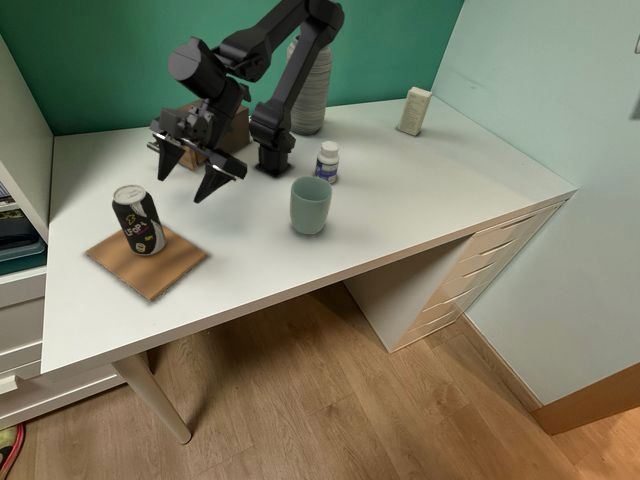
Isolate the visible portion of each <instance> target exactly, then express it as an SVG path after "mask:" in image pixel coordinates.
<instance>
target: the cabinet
mask: <svg viewBox="0 0 640 480" xmlns="http://www.w3.org/2000/svg"><path fill="white" fill-rule="evenodd" d="M201 102H202V99H201V98H199V99H197V100H194V101H192V102H189V103H187V104H184V105H182V106H179V107H177V108H175V109H176V110H182V111H186V112H188V111H189V109H190V107H191V106H193V104H194V105H196V106H199V105H200V103H201ZM249 122H250V108H249V107H248V106H246V105H243V104H242V103H241V104H240V106H239V108H238V110H237V112H236V114H235V116H234V118H233V120H232V122H231V124H230V126H231V127H233V128H234V129H233V131H232V133H229V132H226V134H225V136H224V138H223V140H222V142H221V144H220V146H219V147H221V148H223V151H225V152H227V153H228V154H230V155H232V154H234V153H235V152H237V151H238V150H240V149H242V148H243V147H246V146H247V145H249V144H250V143H251V135H250V130H249ZM204 161H205V162H207V163H208V164H211V163H210V159H209V158H208V159H206V160H204Z"/></svg>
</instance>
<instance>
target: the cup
mask: <svg viewBox="0 0 640 480" xmlns="http://www.w3.org/2000/svg"><path fill="white" fill-rule="evenodd" d="M289 197H290V198H289V219H290V223H291V225H292V227H293V228H294V229H295V231H297V232H298V233H300V234H304V235H315V234H318V233H319V232H320V231H321V230H322V229H323V228H324V226H325V224H326V222H327V220H328V217H329V213H330V208H331V204H332V198H333V187H332V184H331V183H328V182H327V181H326V180H324V179H322V178H319V177H315V175H303V176H300V177H298V178H296V179H295V180H293V182H292V184H291V187H290V196H289Z"/></svg>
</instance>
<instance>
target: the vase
mask: <svg viewBox="0 0 640 480" xmlns="http://www.w3.org/2000/svg"><path fill="white" fill-rule="evenodd" d="M300 35H301V33H297V34H295V35H294V36H293V38H292V42H290V43H289V45H288V47H287V49H286V57H285V66H286V65H287V63H288V61H289V59H290V57H291V55H292V53H293V51H294V48H295V46H296V44H297V42H298V40H299V38H300ZM329 45H330V44H328V45H327V46H326V47H324V48H323V49H321V50H320V52H319V54H318V56H317V58H316V60H315V62H314V64H313V66H312V69H311V71H310V73H309V75H308V77H307V79H306V81H305V83H304V85H303V87H302V89H301V91H300V93H299V95H298V98H297V100H296V102H295V104H294V106H293V108H292V110H291V123H292V127H291V130H290V131H292V132H294V133H296V134H299V135H312V134H315V133H316V132H317V131H318V130H319V129H321V128H322V126H323V125H324V122H325V118H326V117H325V116H326V110H327V103H328V94H329V87H330V81H331V73H332V67H333V60H334V59H333V51H332V50H331V48H330V47H329Z"/></svg>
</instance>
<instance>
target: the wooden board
mask: <svg viewBox="0 0 640 480" xmlns="http://www.w3.org/2000/svg"><path fill="white" fill-rule="evenodd" d="M161 226H162V229H163V232H164V235H165V238H166V243H165V245H164V247H163V248H162V249H161V250H160V251H158V252H156V253H154V254H151V255H139V254H136V253H134V252H133V251H132V249H131V248H130V245H129V243H128V241H127V239H126V237H125V234H124V232H123V230H122V229H119V230H118V231H117V232H115V233H113V234H112V235H110V236H108V237H107V238H105V239H104V240H102V241H100V242H99V243H97V244H95V245H93V246H92V247H90V248H89V249H87V250H85V254H86V255H87V256H89V257H90V258H91V259H92V260H94V261H95V262H97V264H99V265H100V266H102V267H103V268H104V269H106V270H107V271H109V272H110V273H111V274H112V275H114V276H116V277H117V278H118V279H119V280H121V282H123V283H125V284H126V285H128V286H129V287H131V289H133V290H134V291H136V292H137V293H138V294H140V295H141V296H142V297H143V298H145V299H146V300H148V301H149V302H153V301H154V300H155V299H156V298H157V297H159V296H160V295H161V294H162V293H164V292H165V291H166V290H167V289H168V288H170V287H171V286H172V285H173V284H175V283H176V282H177V281H178V280H179V279H181V278H182V277H183V276H184V275H186V274H187V273H188V272H189V271H191V270H193V268H194V267H195V266H197V265H198V264H199V263H200V262H202V261H203V260H204V259H205V258H206V257H208V254H207V253H206V251H203V250H202V249H201V248H198V247H197V246H196V245H194V244H192V243H191V242H189V241H188V240H186V239H184V238H183V237H181V236H180V235H178V234H177V233H175V232H173V231H172V230H170V229H168V228H167V227H165V225H162V224H161Z"/></svg>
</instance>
